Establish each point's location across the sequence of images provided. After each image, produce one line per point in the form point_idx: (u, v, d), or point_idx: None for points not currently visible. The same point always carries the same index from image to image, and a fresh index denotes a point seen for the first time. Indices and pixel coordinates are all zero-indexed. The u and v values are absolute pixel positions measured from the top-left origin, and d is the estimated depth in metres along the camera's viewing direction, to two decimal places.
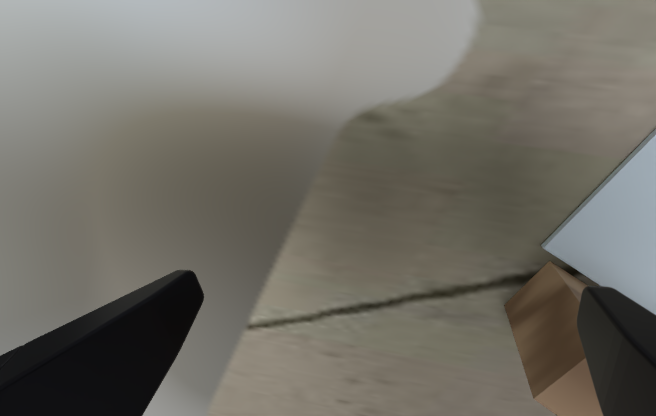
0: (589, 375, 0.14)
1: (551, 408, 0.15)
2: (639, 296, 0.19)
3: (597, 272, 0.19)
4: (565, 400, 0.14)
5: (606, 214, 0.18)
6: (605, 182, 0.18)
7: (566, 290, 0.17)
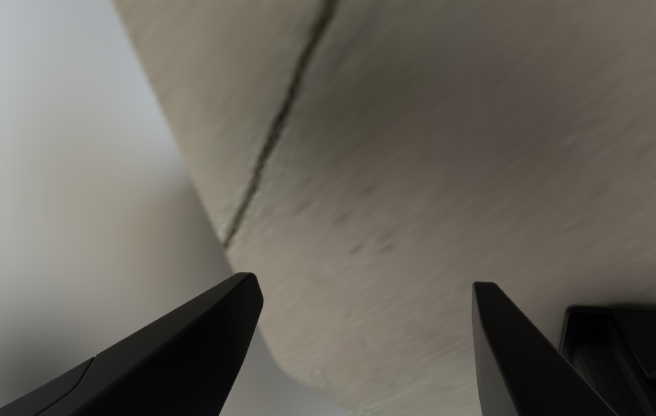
0: None
1: None
2: None
3: None
4: None
5: None
6: None
7: None
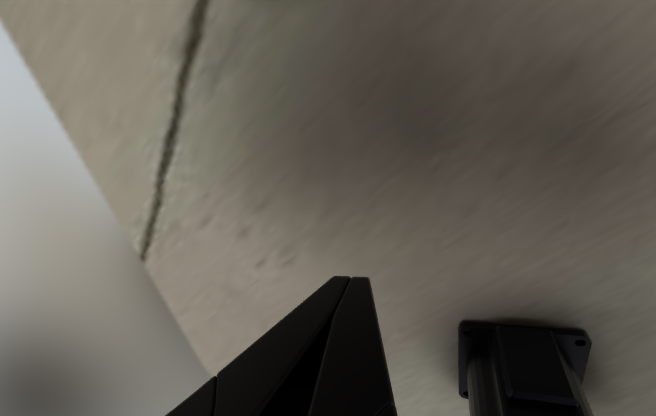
0: None
1: None
2: None
3: None
4: None
5: None
6: None
7: None
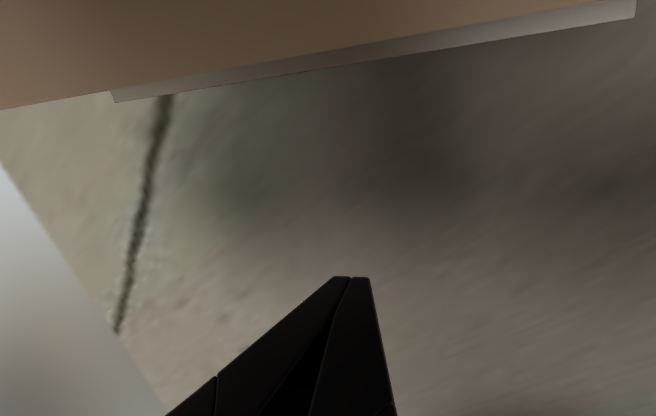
0: None
1: None
2: None
3: None
4: None
5: None
6: None
7: None
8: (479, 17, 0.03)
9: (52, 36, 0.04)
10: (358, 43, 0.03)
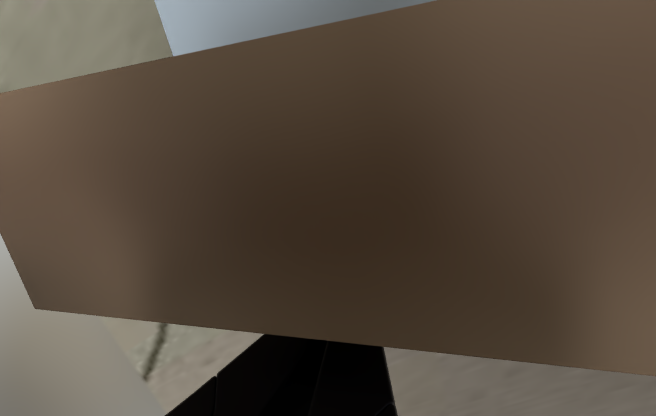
0: (6, 196, 0.06)
1: (58, 306, 0.07)
2: None
3: None
4: (48, 274, 0.06)
5: None
6: None
7: None
8: (471, 355, 0.04)
9: (141, 284, 0.06)
10: (382, 346, 0.05)
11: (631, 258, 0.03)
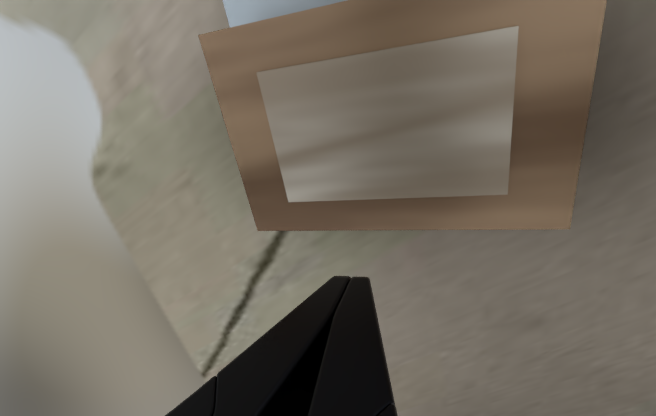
0: None
1: None
2: None
3: None
4: None
5: None
6: None
7: None
8: None
9: None
10: None
11: None
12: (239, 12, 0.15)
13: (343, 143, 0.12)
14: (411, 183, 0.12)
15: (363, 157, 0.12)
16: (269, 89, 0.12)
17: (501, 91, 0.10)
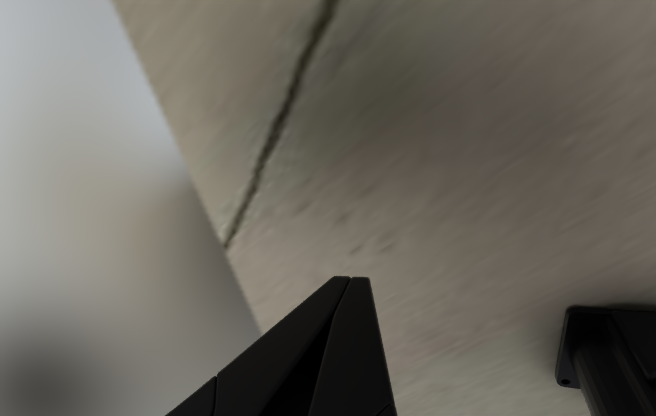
0: None
1: None
2: None
3: None
4: None
5: None
6: None
7: None
8: None
9: None
10: None
11: None
12: None
13: None
14: None
15: None
16: None
17: None
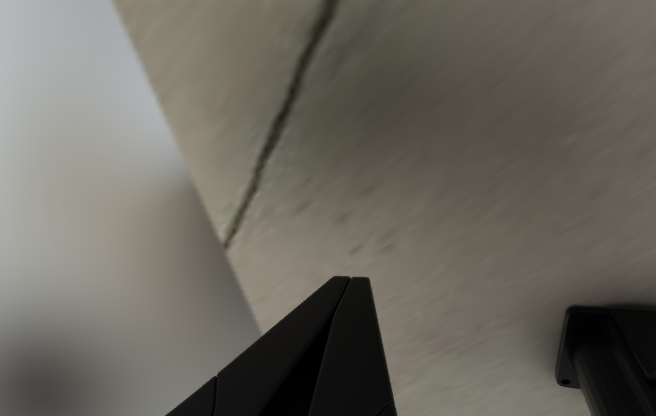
0: None
1: None
2: None
3: None
4: None
5: None
6: None
7: None
8: None
9: None
10: None
11: None
12: None
13: None
14: None
15: None
16: None
17: None
